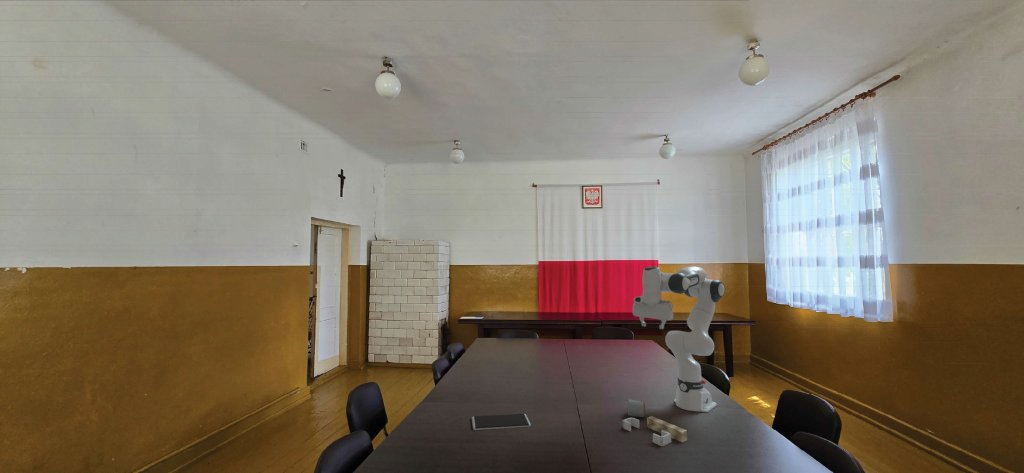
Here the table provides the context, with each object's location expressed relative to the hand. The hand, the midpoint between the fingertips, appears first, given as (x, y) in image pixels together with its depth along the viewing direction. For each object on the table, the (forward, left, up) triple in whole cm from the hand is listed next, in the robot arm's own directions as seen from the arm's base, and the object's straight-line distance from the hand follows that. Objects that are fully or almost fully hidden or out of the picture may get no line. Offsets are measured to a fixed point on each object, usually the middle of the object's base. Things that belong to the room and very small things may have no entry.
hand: (652, 327), depth 189 cm
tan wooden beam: (+7, +12, -45) cm, 47 cm away
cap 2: (+16, +17, -45) cm, 51 cm away
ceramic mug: (+2, -9, -45) cm, 46 cm away
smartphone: (+64, -38, -46) cm, 88 cm away
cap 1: (+16, -1, -45) cm, 48 cm away
